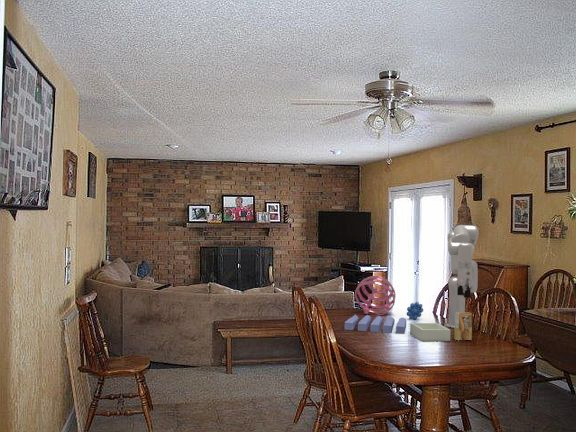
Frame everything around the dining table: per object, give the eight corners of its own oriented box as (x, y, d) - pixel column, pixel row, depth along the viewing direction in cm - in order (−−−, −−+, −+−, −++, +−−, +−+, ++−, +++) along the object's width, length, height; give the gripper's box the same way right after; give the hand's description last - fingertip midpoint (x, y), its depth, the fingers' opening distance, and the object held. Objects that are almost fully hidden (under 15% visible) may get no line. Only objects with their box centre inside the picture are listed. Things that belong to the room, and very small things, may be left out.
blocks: (344, 330, 335) (344, 322, 335) (351, 320, 369) (352, 313, 369) (404, 335, 327) (404, 326, 327) (406, 324, 360) (406, 317, 361)
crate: (436, 334, 329) (437, 323, 329) (450, 341, 309) (450, 329, 309) (410, 334, 328) (410, 322, 328) (421, 341, 308) (422, 329, 308)
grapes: (420, 318, 383) (421, 300, 383) (424, 320, 376) (424, 302, 376) (404, 318, 381) (404, 300, 381) (407, 320, 374) (408, 302, 374)
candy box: (467, 339, 318) (467, 312, 318) (471, 340, 314) (472, 313, 314) (453, 340, 315) (454, 312, 315) (458, 341, 311) (459, 313, 311)
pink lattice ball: (381, 290, 371) (389, 265, 392) (344, 296, 386) (353, 271, 407) (397, 321, 382) (404, 295, 403) (360, 326, 396) (369, 301, 417)
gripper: (477, 267, 307) (476, 298, 306) (464, 264, 324) (463, 294, 324) (464, 266, 306) (463, 298, 306) (452, 264, 323) (451, 294, 323)
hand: (463, 296), depth 315 cm, fingers open, 9 cm apart
